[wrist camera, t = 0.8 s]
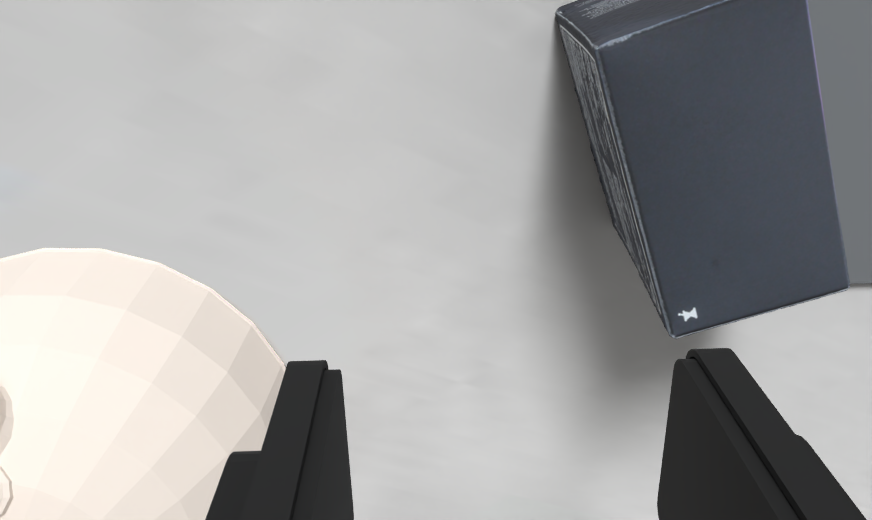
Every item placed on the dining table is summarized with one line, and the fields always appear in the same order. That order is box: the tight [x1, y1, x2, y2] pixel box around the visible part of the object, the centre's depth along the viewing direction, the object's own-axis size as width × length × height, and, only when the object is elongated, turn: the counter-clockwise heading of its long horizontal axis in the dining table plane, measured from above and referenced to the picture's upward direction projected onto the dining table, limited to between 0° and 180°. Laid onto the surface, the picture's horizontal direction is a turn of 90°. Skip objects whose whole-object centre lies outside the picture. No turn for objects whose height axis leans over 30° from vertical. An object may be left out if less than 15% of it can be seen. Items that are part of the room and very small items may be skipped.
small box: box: [555, 0, 850, 339], centre depth 28 cm, size 11×6×10 cm, turn 20°
